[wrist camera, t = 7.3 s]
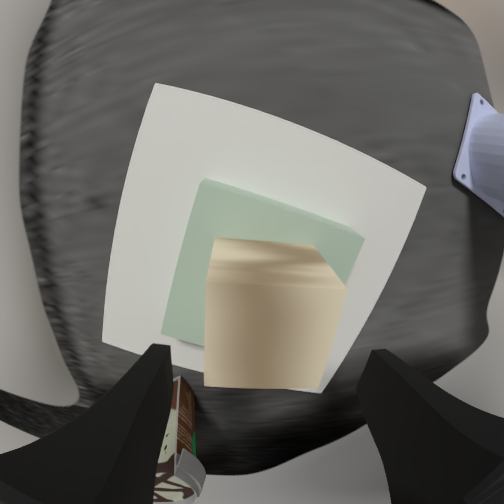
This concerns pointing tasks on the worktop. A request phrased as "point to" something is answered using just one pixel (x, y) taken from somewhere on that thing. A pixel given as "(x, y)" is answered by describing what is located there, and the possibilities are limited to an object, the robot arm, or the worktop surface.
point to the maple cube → (269, 314)
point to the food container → (179, 452)
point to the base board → (257, 167)
